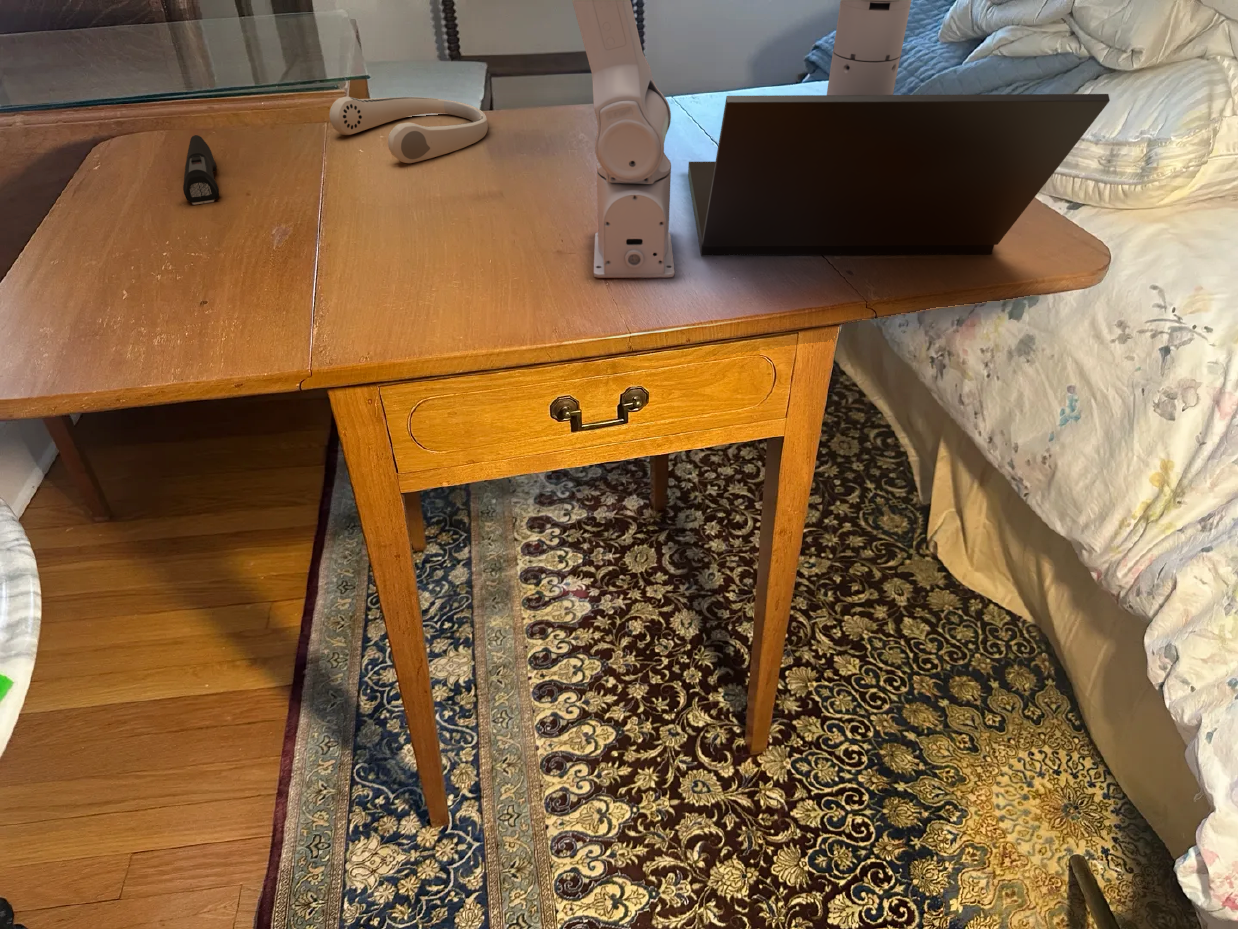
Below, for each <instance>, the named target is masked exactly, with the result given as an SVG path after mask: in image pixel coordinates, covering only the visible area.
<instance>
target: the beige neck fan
mask: <svg viewBox="0 0 1238 929" xmlns="http://www.w3.org/2000/svg"><path fill="white" fill-rule="evenodd" d="M427 114H428V115H430V114H431V115H432V114H439V115H441V114H442V115H450V116H451V115H452V116H456V117H460V118H464V119H467V120H469V121H470V122H463V123H457V124H448V125H425V126H424V125H420V124H417V123H415V122H402V123H398V124H396V125H395V126H393V128H392V129H391V131H390V132H389V133H388V137H387V147H388V150H389V152H390V153H391V155H392V156H393V157H394V158H396V159H397V160H398V161H399V162H401V163H404V164H412V163H418V162H423V161H425V160H429V159H433V158H435V157H440V156H443V155H446V154H449V153H453V152H455V151H458V150H462V149H464V148H467V147H468V146H471V145H472V144H475V143H477V142H479V141H480V140H481V139H483V138H485V136H486V135H487V133H488V130H489V129H488V127H489V125H488V123H489V122H488V118H487V115H486V114H485V112H484V111H482V110H481V109H479V108H478V107H475V106H473V105H471V104H468V103H466V102H465V103H464V102H462V101H461V102H460V101H457V100H456V101H455V100H449V99H442V98H435V97H423V96H394V97H374V98H360V99H359V98H356V97H352V96H342V97H339V98H337V99H335V101H333V103H332V105H331V107H330V109H329V121H330V124H331V126H332V128H333V129H334V130H335V131H336V132H337V133H339V134H340V135H343V136H351V135H354V134H357V133H360V132H363V131H365V130H368V129H372V128H375V127H378V126H380V125H383V124H387V123H390V122H393V121H395V120H396V121H397V120H401V119H404V118H408V117H413V116H419V115H427ZM380 119H381V120H380Z"/></svg>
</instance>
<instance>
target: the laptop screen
mask: <svg viewBox="0 0 1238 929" xmlns="http://www.w3.org/2000/svg"><path fill="white" fill-rule="evenodd" d="M1110 101H1111V100H1110V94H1109V93H1021V94H1020V93H1019V94H1018V93H1017V94H1016V93H1014V94H1013V93H1011V94H1010V93H1009V94H1007V93H1006V94H1005V93H1004V94H1002V93H1001V94H996V93H994V94H989V93H988V94H984V93H983V94H893V95H827V94H820V95H819V94H816V95H815V94H812V95H811V94H809V95H808V94H806V95H805V94H804V95H802V94H799V95H796V94H794V95H790V94H789V95H788V94H787V95H785V94H784V95H780V94H779V95H777V94H776V95H775V94H774V95H726V97H725V101H724V102H725V104H724V109H723V114H722V115H723V116H722V121H721V127H720V133H719V139H718V143H717V144H718V145H717V151H716V155H715V156H716V157H715V161H714V162H715V168H714V174H713V180H712V186H711V192H710V197H709V203H708V209H707V215H706V221H705V227H704V233H703V239H702V246H842V245H994V246H997V245H999V244H1000V242H1001V241H1002V240H1003V238H1004V237H1005V236H1006V234H1008V233H1009V231H1010V230H1011V228H1012V227H1013V226H1014V224H1015V223H1016V222H1017V221H1018V219H1019V218H1020V217H1021V216H1022V214H1023V213H1024V212H1025V210H1026V209H1027V208H1028V207H1029V205H1030V204H1031V203H1032V201H1033V200H1034V199H1035V198H1036V196H1037V195H1038V193H1039V192H1040V191H1041V190H1042V189H1043V187H1044V186H1045V185H1046V183H1047V182H1048V181H1049V180H1050V178H1051V177H1052V176H1053V174H1054V173H1055V172H1056V171H1057V170H1058V168H1059V167H1060V166H1061V165H1062V163H1063V162H1064V160H1066V158H1067V156H1068V155H1069V154H1070V153H1071V151H1072V150H1073V149H1074V148H1075V146H1076V144H1078V142H1079V141H1080V140H1081V139H1082V137H1083V136H1084V135H1085V134H1086V132H1087V131H1088V130H1089V128H1090V127H1091V126H1092V124H1093V123H1094V122H1095V121H1096V120H1097V118H1098V117H1099V115H1100V114H1102V112H1103V110H1104V109H1105V108H1106V107H1107V105H1108V104H1109V102H1110Z"/></svg>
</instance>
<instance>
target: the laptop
mask: <svg viewBox="0 0 1238 929" xmlns="http://www.w3.org/2000/svg"><path fill="white" fill-rule="evenodd" d="M715 162H716V161H688V167H687V168H688V169H687V178H688V185H689V190H690V196H691V202H692V209H693V215H694V221H695V226H696V234H697V238H698V239H697V240H698V244H699V245H698V246H699V252H700V256H703V257H704V256H707V257H709V256H710V257H711V256H712V257H713V256H716V257H717V256H866V255H867V256H884V255H885V256H888V255H891V256H892V255H893V256H894V255H895V256H899V255H901V256H902V255H907V256H908V255H910V256H911V255H912V256H913V255H915V256H916V255H917V256H918V255H992V254H993V251H994V248H995V245H842V246H702V239H703V233H704V227H705V221H706V215H707V209H708V203H709V197H710V192H711V186H712V180H713V174H714V168H715Z"/></svg>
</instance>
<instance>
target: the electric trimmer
mask: <svg viewBox="0 0 1238 929" xmlns="http://www.w3.org/2000/svg"><path fill="white" fill-rule="evenodd" d="M184 165H185V166H184V175H183V185H182V189H183V190H182V191H183V194H184V197H185V199H186V201H187V202H188V203H191V204H192V205H193V206H194V205H199V204H201V205H202V204H208V203H210V204H211V203H214V202H215V200H217V199H219V197H220V189H219V185H218V183H217V181H216V179H215V176H214V173H215V172H216V171H217V163H216V161H215V158H214V155H213V153H212V150H211V148H210V146H209V145H208V143H207V142H206V141H205V140H204V139H203V137H202V136H200V135H198V134H194V135H192V136H191V137H190V139H189V144H188V149H187V154H186V159H185V164H184Z"/></svg>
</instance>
